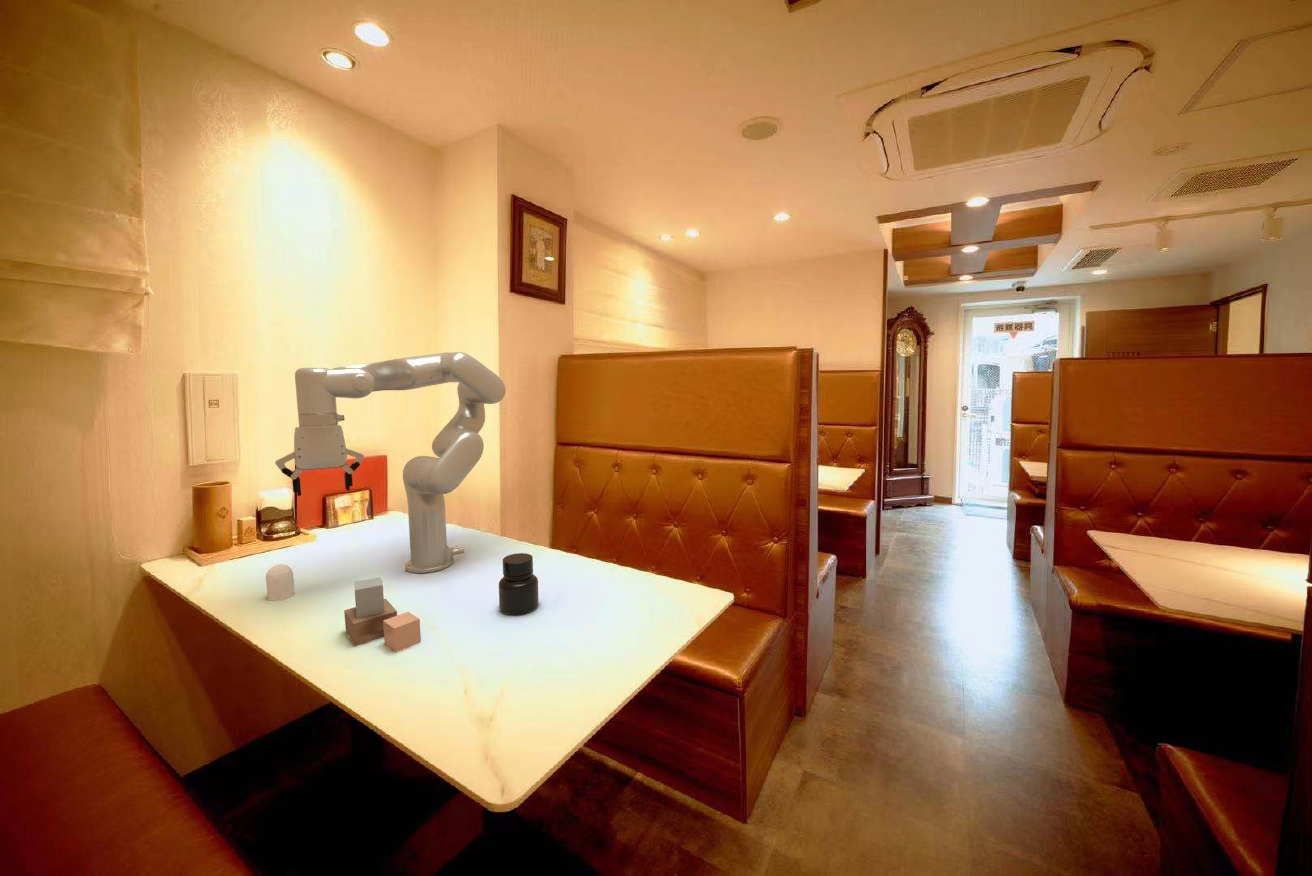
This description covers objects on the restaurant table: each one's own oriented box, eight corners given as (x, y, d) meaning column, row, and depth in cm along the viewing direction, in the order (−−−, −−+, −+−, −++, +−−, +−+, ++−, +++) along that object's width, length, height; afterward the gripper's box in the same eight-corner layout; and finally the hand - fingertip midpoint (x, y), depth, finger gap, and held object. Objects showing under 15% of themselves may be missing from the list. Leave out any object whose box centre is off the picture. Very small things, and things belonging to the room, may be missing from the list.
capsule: (280, 601, 118) (277, 570, 117) (262, 599, 119) (258, 568, 118) (300, 592, 123) (297, 561, 122) (282, 590, 124) (279, 560, 123)
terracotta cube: (409, 634, 104) (408, 611, 103) (420, 642, 101) (419, 618, 100) (384, 644, 100) (382, 620, 99) (395, 652, 97) (394, 628, 96)
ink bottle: (523, 594, 122) (521, 548, 121) (547, 604, 117) (546, 556, 116) (490, 609, 114) (488, 560, 113) (514, 620, 109) (513, 569, 108)
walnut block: (387, 619, 110) (385, 598, 109) (398, 633, 104) (396, 611, 104) (345, 632, 104) (344, 610, 104) (355, 647, 99) (353, 624, 98)
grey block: (382, 603, 107) (381, 576, 106) (384, 612, 103) (382, 584, 102) (355, 608, 104) (354, 581, 104) (356, 618, 100) (354, 590, 100)
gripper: (359, 418, 123) (363, 484, 125) (272, 421, 113) (278, 494, 115) (362, 420, 117) (367, 490, 119) (271, 424, 107) (278, 500, 109)
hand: (324, 492), depth 117 cm, fingers open, 9 cm apart
